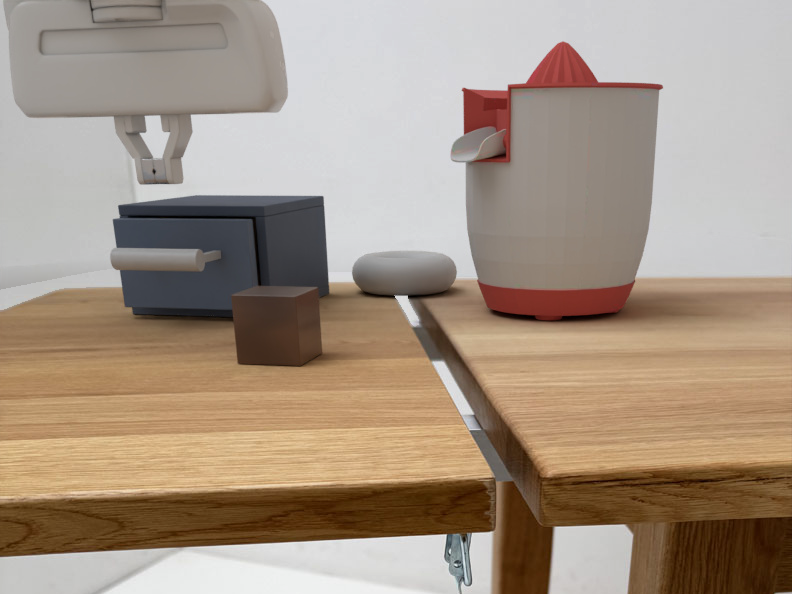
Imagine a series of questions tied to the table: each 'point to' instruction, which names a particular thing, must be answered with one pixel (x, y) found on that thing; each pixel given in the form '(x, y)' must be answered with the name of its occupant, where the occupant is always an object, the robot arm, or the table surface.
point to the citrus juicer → (558, 188)
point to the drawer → (185, 260)
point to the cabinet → (258, 237)
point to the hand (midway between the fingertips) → (161, 184)
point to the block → (277, 325)
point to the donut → (404, 273)
